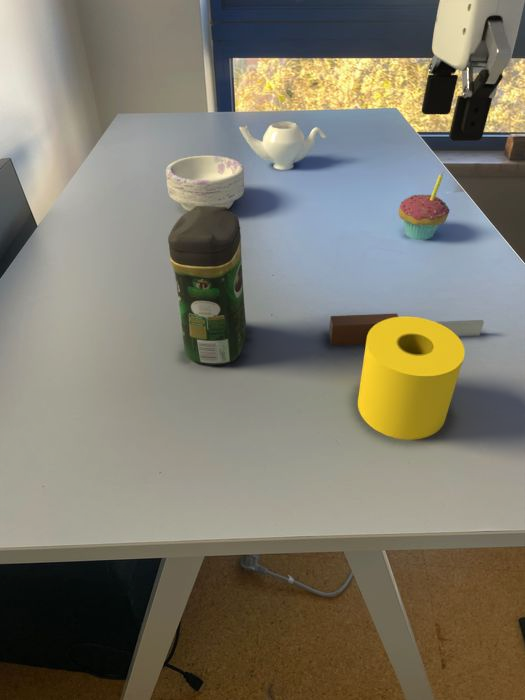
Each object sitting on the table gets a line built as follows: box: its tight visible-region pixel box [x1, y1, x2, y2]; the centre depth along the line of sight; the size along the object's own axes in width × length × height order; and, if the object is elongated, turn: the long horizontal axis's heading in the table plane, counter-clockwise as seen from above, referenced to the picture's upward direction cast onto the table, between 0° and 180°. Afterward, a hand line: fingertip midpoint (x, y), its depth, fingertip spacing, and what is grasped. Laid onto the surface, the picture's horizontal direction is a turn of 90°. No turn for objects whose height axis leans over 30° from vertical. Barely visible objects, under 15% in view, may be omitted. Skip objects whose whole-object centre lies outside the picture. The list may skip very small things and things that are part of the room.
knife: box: [328, 313, 485, 346], centre depth 69 cm, size 20×2×3 cm, turn 92°
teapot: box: [239, 121, 328, 171], centre depth 119 cm, size 10×20×9 cm, turn 92°
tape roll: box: [357, 316, 466, 441], centre depth 57 cm, size 10×10×9 cm
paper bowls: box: [165, 154, 245, 212], centre depth 103 cm, size 15×15×8 cm
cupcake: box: [398, 170, 451, 241], centre depth 90 cm, size 9×8×12 cm
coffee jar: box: [167, 206, 247, 366], centre depth 64 cm, size 10×8×19 cm
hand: (448, 125), depth 56 cm, fingers open, 9 cm apart
